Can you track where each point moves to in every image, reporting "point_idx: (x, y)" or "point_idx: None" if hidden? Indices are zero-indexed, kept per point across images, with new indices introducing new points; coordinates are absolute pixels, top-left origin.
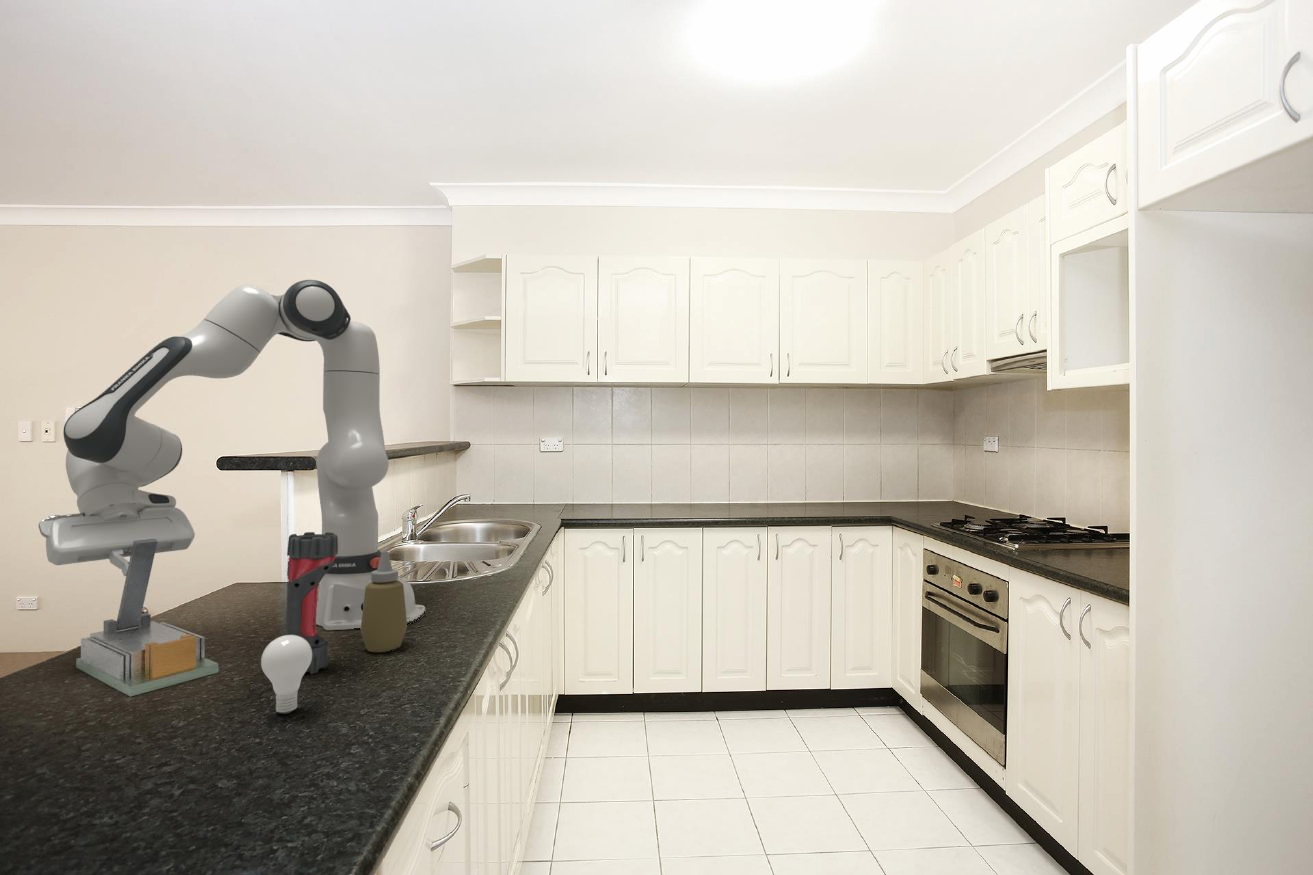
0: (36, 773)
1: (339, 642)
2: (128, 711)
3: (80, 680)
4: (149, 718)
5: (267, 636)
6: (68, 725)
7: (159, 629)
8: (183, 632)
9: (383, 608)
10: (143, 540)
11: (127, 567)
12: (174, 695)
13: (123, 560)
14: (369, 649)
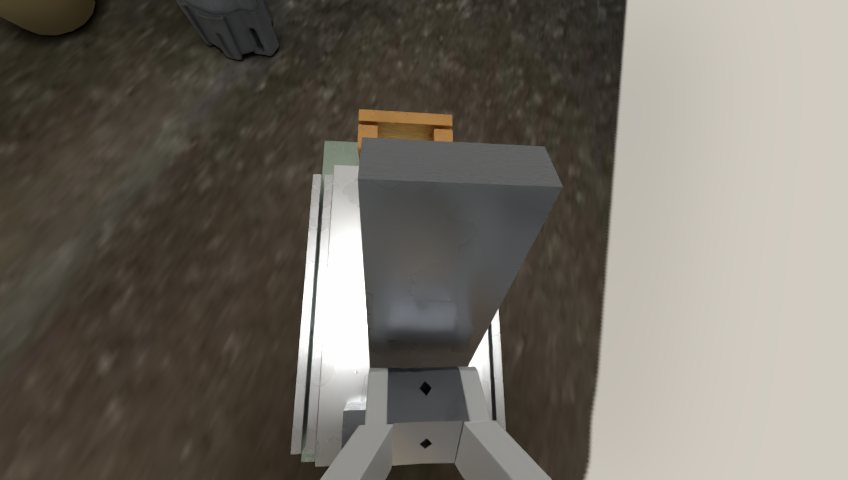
0: (607, 9)
1: (61, 116)
2: (493, 98)
3: (501, 330)
4: (483, 51)
5: (96, 315)
6: (560, 115)
7: (351, 330)
8: (329, 240)
9: None
10: (476, 173)
11: (473, 378)
12: (426, 105)
13: (496, 437)
14: (91, 6)
